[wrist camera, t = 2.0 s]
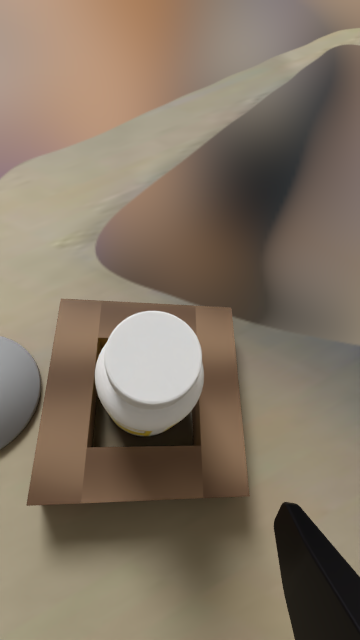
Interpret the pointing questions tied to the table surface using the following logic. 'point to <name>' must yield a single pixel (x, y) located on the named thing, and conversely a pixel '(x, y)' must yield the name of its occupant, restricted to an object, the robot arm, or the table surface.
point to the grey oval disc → (16, 389)
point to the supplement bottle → (150, 373)
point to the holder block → (136, 462)
